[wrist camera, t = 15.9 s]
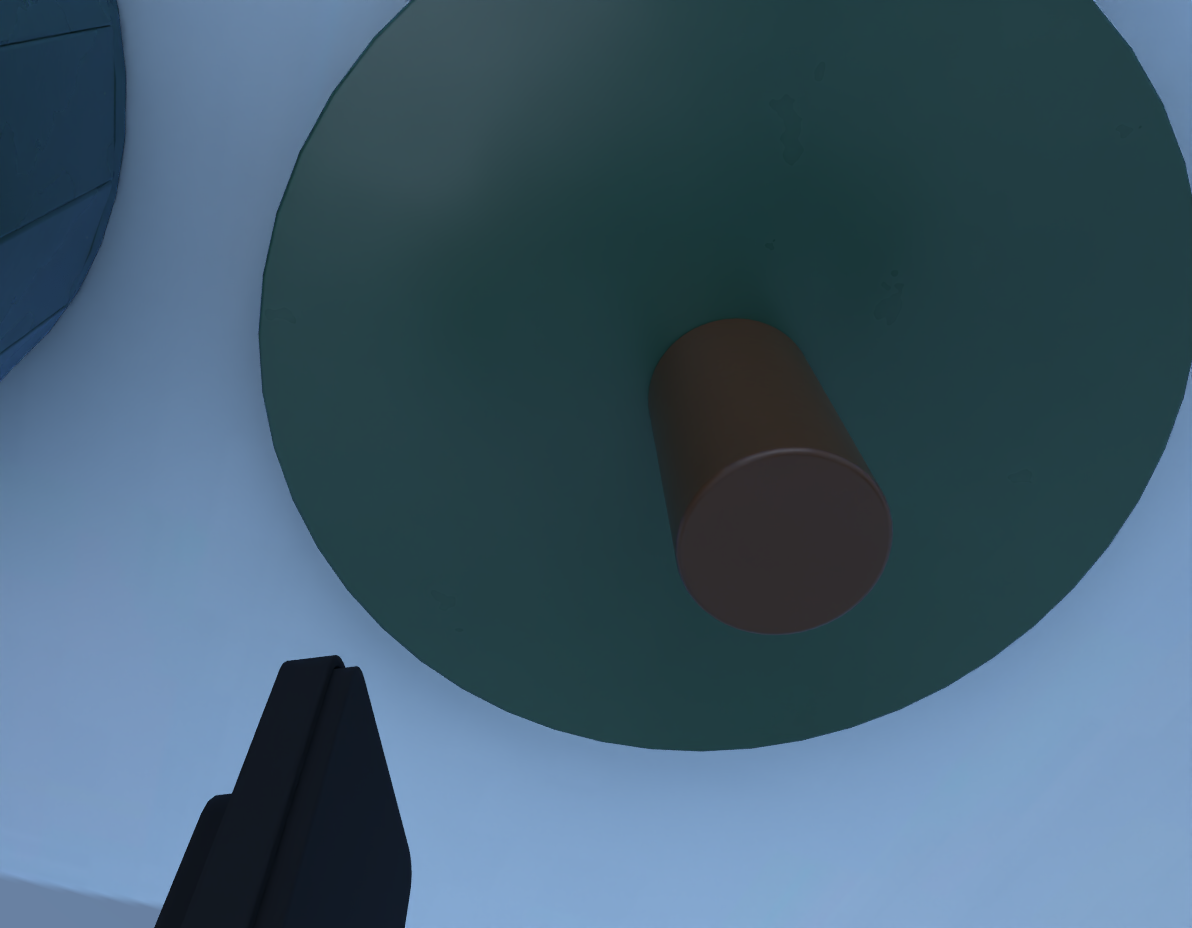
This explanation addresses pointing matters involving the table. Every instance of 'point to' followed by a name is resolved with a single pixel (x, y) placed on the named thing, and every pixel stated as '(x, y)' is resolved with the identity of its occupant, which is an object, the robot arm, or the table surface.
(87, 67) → the tin
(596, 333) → the lid
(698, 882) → the table surface
